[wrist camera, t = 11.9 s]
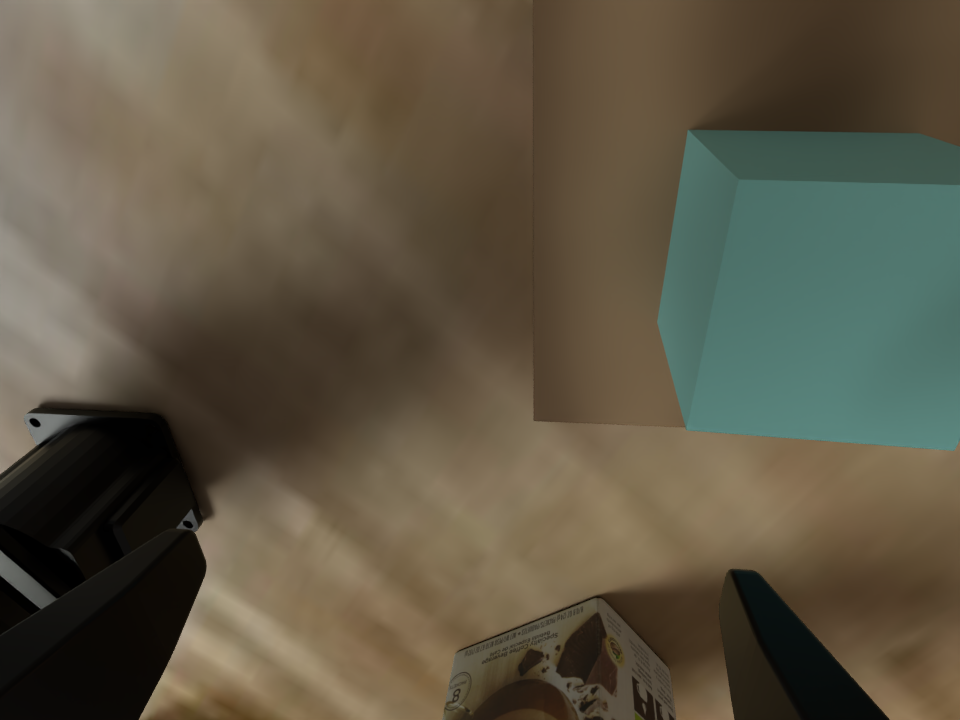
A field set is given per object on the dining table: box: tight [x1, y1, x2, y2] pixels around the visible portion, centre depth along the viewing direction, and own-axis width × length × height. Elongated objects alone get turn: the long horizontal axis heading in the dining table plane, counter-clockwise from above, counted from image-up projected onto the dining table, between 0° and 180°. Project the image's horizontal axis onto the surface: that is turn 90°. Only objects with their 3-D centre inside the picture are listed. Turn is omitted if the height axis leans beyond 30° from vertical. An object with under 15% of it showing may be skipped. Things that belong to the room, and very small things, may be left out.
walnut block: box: [533, 0, 960, 427], centre depth 16 cm, size 12×12×4 cm
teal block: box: [657, 130, 960, 451], centre depth 13 cm, size 5×5×5 cm
